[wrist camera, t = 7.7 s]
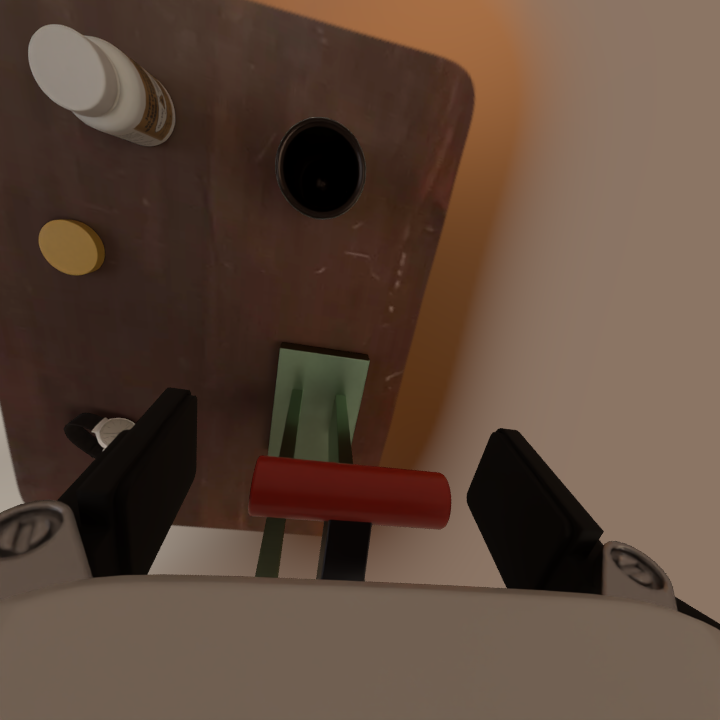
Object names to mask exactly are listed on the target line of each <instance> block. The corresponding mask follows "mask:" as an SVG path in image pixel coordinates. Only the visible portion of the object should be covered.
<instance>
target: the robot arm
mask: <svg viewBox="0 0 720 720" xmlns="http://www.w3.org/2000/svg"><path fill="white" fill-rule="evenodd" d="M196 448H197V397H196V396H193V395H191V392H190V390H184V389H176V388H167V389H166V390H165V391H164V392H163V393H162V394H161V396H160V397H159V398H158V399H157V400H156V401H155V402H154V403H153V405H152V406H151V407H150V408H149V409H148V410H147V411H146V412H145V414H144V415H143V416H142V417H141V418H140V419H139V420H138V421H137V423H136V424H135V425H134V426H133V427H132V428H131V429H130V430H128V429H126V430H123V431H122V432H120V433H119V434H118V435H117V436H116V437H115V439H114V440H113V441H112V442H111V443H110V444H109V445H108V446H107V447H106V448H105V449H104V450H103V452H102V453H101V454H100V455H99V456H98V457H97V458H96V459H95V460H94V461H93V462H92V463H91V465H90V466H89V467H88V468H87V469H86V470H85V471H84V472H83V473H82V474H81V475H80V476H79V478H78V479H77V480H76V481H75V482H74V483H73V484H72V485H71V486H70V487H69V488H68V489H67V491H66V492H65V493H64V494H63V495H62V496H61V497H60V498H59V499H58V500H57V501H53V500H41V501H33V502H28V503H24V504H20V505H17V506H15V507H13V508H10V509H8V510H5V511H3V512H1V513H0V720H720V624H719V623H717V622H715V621H714V620H713V619H711V618H709V617H708V616H706V615H704V614H702V613H701V612H699V611H698V610H696V609H694V608H693V607H691V606H689V605H688V604H686V603H685V602H683V601H681V600H680V599H678V598H676V597H675V596H674V591H673V586H672V584H671V581H670V579H669V578H668V576H667V575H666V573H665V572H664V571H663V570H662V569H661V568H660V567H659V566H658V565H657V564H656V563H655V562H654V561H653V560H652V559H651V558H649V557H648V556H647V555H645V554H644V553H642V552H641V551H639V550H637V549H636V548H634V547H632V546H630V545H627V544H625V543H621V542H617V541H609V542H607V543H606V544H604V545H603V544H602V543H601V542H600V541H599V538H600V537H601V535H602V534H603V532H604V531H603V530H602V529H601V528H600V527H599V525H598V524H597V523H596V522H595V521H594V520H593V518H592V517H591V516H590V515H589V514H588V513H587V511H586V510H585V509H584V508H583V507H582V505H581V504H580V503H579V502H578V501H577V500H576V498H575V497H574V496H573V495H572V494H571V492H570V491H569V490H568V489H567V488H566V487H565V486H564V484H563V483H562V482H561V481H560V479H558V477H557V476H556V475H555V474H554V472H553V471H552V470H551V469H550V468H549V467H548V465H547V464H546V463H545V462H544V461H543V459H542V458H541V457H540V456H539V455H538V454H537V452H536V451H535V450H534V449H533V448H532V446H531V445H530V444H529V443H528V442H527V441H526V439H525V438H524V437H523V436H522V435H521V434H520V432H518V431H517V430H510V429H502V428H500V429H498V430H497V431H496V432H493V433H492V434H491V436H490V438H489V441H488V443H487V446H486V448H485V451H484V453H483V455H482V458H481V460H480V463H479V465H478V468H477V470H476V473H475V475H474V478H473V480H472V482H471V485H470V488H469V490H468V493H467V503H468V506H469V508H470V511H471V512H472V515H473V517H474V519H475V521H476V523H477V525H478V528H479V530H480V532H481V534H482V536H483V538H484V540H485V543H486V544H487V547H488V549H489V551H490V553H491V555H492V557H493V560H494V562H495V564H496V566H497V568H498V570H499V572H500V575H501V577H502V579H503V581H504V583H505V585H506V587H507V588H489V587H470V586H451V585H430V584H408V583H387V582H365V581H344V580H319V579H294V578H270V577H244V576H208V575H207V576H206V575H165V574H163V575H161V574H160V575H147V574H148V572H149V570H150V568H151V565H152V564H153V562H154V560H155V558H156V555H157V553H158V551H159V549H160V547H161V545H162V543H163V541H164V539H165V537H166V535H167V533H168V531H169V529H170V527H171V525H172V523H173V521H174V519H175V517H176V515H177V513H178V511H179V509H180V507H181V505H182V503H183V501H184V499H185V497H186V495H187V493H188V491H189V489H190V486H191V484H192V482H193V480H194V477H195V473H196Z"/></svg>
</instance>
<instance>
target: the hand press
mask: <svg viewBox="0 0 720 720" xmlns="http://www.w3.org/2000/svg"><path fill="white" fill-rule="evenodd" d="M369 363H370V360H369V357H368V355H366V354H359V353H352V352H346V351H339V350H332V349H325V348H319V347H312V346H305V345H298V344H292V343H285V342H282V344H281V347H280V352H279V361H278V370H277V379H276V388H275V396H274V405H273V414H272V423H271V432H270V441H269V449H268V456H275V457H285V458H295V459H305V460H315V461H325V462H336V463H346V464H353V460H352V450H351V444H352V440H353V435H354V431H355V426H356V421H357V417H358V412H359V408H360V403H361V399H362V394H363V390H364V385H365V381H366V376H367V372H368V367H369ZM285 521H286V518H272V517H267V519H266V524H265V529H264V534H263V539H262V544H261V549H260V554H259V560H258V564H257V569H256V575H255V577H270V578H278V573H279V566H280V558H281V551H282V544H283V536H284V529H285ZM364 581H365V579H364Z"/></svg>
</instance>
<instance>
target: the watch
mask: <svg viewBox="0 0 720 720" xmlns="http://www.w3.org/2000/svg"><path fill="white" fill-rule="evenodd" d="M134 425H135V424H134V423H133V422H132V421H130V420H128V419H124V418H112V419H109V420H108V419H107V418H106V417H105V418H102V417H100V416H98V415H95V414H91V413H82V414H80V415H78V416H77V417H76V418H74V419H73V420H72V421H71V422H69V423H68V424H67V425H66V426H65V427H64V431H65V434H66V436H67V438H68V439H69V440H70V441H71V442H72V443H73V444H75V445H76V446H77V447H78V448H80V449H81V450H83V451H84V452H85V453H87V454H89V455H90V456H91V457H94V458H95V459H96V458H97V457H98V456H99V455H100V454H101V453H102V452H103V450H104V449H105V448H106V447H107V446H108V445H109V444H110V443H111V442H112V441H113V440H114V439H115V437H116V436H117V435H118V434H119V433H120V432H122V431H123V430H126V429H128V430H130V429H131V428H132V427H133V426H134ZM83 427H84V428H87V429H89V430H91V432H94V433H96V437H97V439H96V438H95V437H94V436H92V435H91V434H90V433H88V432H87V431H86V430H85V429H84V428H83Z"/></svg>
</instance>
